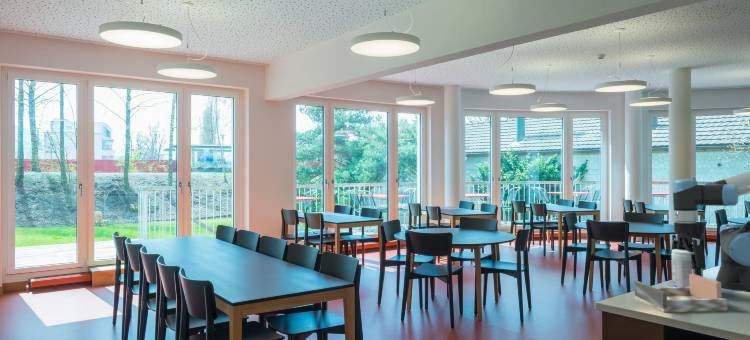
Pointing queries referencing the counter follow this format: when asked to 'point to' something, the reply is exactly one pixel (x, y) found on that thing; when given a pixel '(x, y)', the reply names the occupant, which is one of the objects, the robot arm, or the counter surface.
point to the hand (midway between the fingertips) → (687, 283)
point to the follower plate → (704, 287)
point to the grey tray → (676, 299)
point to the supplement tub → (682, 267)
